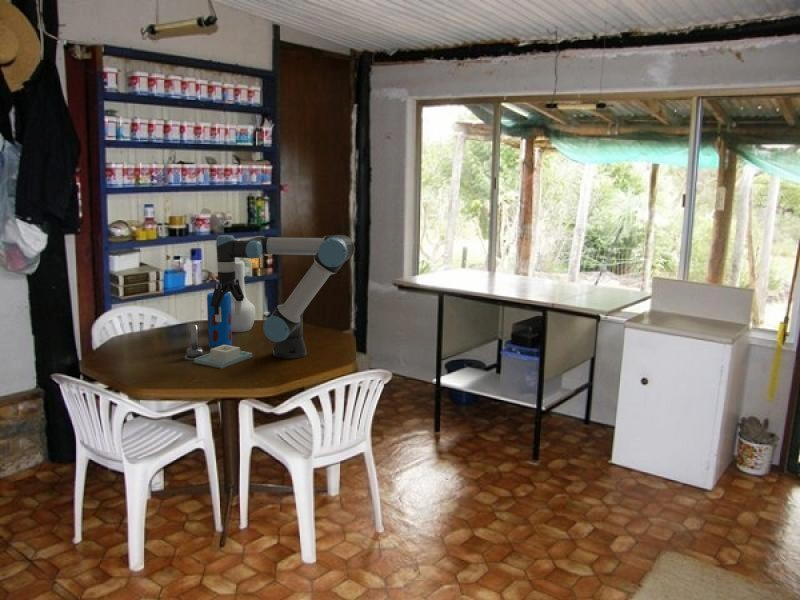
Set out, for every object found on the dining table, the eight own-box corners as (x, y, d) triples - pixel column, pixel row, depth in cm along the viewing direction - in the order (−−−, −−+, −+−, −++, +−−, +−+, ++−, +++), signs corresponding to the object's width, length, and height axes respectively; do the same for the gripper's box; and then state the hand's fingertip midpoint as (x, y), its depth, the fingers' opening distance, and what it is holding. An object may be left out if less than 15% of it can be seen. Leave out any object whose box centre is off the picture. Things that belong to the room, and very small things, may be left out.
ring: (240, 358, 316) (240, 347, 315) (226, 363, 308) (226, 352, 307) (221, 354, 321) (220, 343, 320) (207, 359, 313) (206, 348, 312)
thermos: (225, 349, 331) (224, 297, 326) (204, 347, 333) (202, 295, 328) (235, 343, 341) (234, 292, 336) (215, 342, 343) (213, 291, 338)
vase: (221, 326, 373) (220, 260, 366) (253, 325, 378) (252, 259, 371) (223, 334, 358) (222, 265, 351) (257, 332, 363) (256, 264, 356)
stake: (209, 356, 319) (208, 324, 316) (195, 361, 311) (194, 328, 308) (194, 353, 323) (193, 321, 320) (180, 358, 315) (178, 325, 312)
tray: (252, 357, 320) (252, 352, 320) (221, 368, 302) (221, 364, 302) (225, 352, 327) (225, 347, 326) (194, 362, 309) (194, 358, 309)
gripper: (237, 266, 322) (239, 312, 326) (200, 274, 299) (202, 323, 304) (250, 267, 319) (252, 313, 323) (214, 275, 296) (216, 325, 301)
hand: (228, 318), depth 313 cm, fingers open, 13 cm apart
